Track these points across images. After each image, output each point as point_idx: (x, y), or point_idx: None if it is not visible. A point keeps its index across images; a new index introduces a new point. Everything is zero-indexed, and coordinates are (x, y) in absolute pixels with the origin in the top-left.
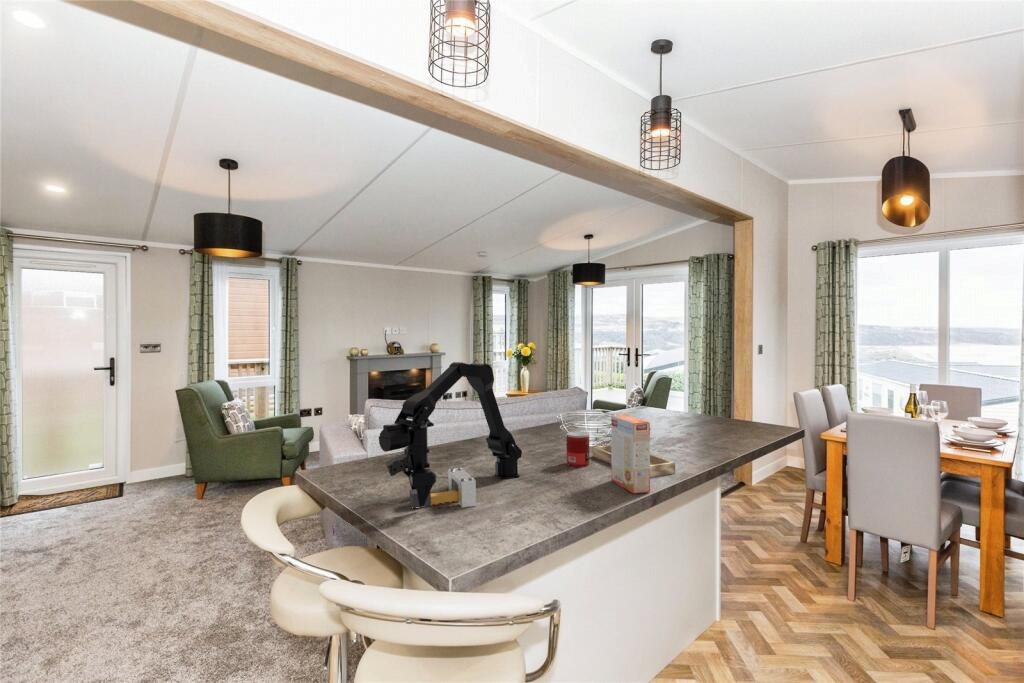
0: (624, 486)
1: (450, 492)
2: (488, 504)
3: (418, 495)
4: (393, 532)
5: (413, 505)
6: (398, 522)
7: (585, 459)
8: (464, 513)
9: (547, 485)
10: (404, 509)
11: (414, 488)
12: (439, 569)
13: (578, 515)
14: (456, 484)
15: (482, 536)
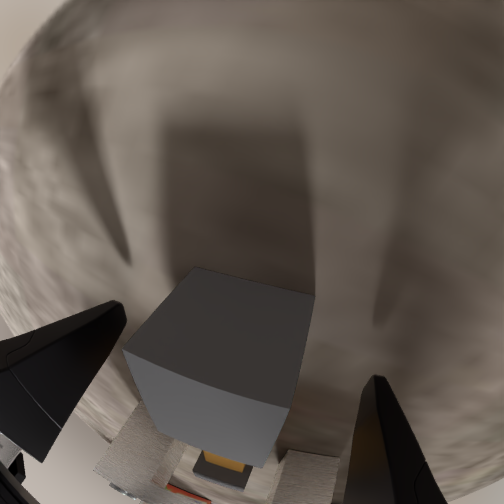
0: (174, 489)
1: (219, 458)
2: None
3: (32, 332)
4: (4, 102)
5: (182, 287)
6: (46, 124)
7: None
8: (99, 371)
9: (232, 495)
10: (211, 209)
11: (368, 436)
12: None
13: (93, 426)
14: (272, 494)
15: (9, 302)
